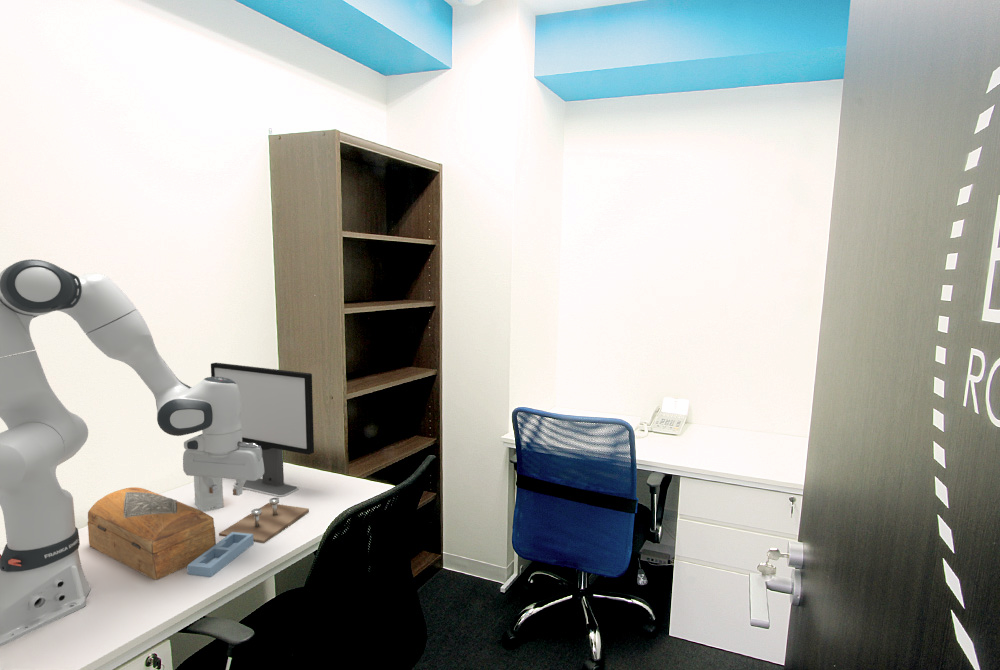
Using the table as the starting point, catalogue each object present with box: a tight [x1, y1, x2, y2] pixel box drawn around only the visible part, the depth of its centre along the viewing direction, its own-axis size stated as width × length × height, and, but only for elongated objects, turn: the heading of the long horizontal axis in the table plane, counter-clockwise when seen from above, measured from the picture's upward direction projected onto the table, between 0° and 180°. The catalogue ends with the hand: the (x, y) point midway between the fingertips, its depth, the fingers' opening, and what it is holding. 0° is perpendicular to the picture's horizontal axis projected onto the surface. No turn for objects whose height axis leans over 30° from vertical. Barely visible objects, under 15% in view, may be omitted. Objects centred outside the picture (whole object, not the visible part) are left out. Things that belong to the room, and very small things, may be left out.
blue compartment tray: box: [186, 532, 255, 578], centre depth 135 cm, size 6×16×3 cm, turn 171°
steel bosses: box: [250, 497, 280, 527], centre depth 154 cm, size 10×3×5 cm, turn 165°
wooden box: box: [87, 486, 217, 581], centre depth 138 cm, size 30×16×14 cm, turn 60°
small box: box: [193, 476, 224, 513], centre depth 165 cm, size 8×6×13 cm
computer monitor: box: [210, 362, 315, 498], centre depth 178 cm, size 41×8×40 cm, turn 67°
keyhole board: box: [218, 502, 310, 544], centre depth 155 cm, size 20×14×1 cm
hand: (225, 493), depth 139 cm, fingers open, 5 cm apart
